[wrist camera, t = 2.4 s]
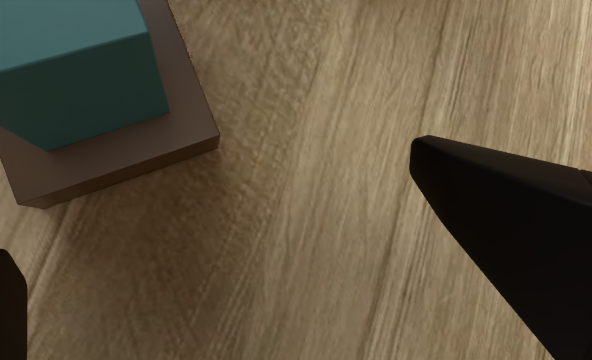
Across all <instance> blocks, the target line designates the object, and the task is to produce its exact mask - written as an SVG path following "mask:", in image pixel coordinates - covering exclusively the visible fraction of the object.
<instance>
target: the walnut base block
mask: <svg viewBox="0 0 592 360" xmlns="http://www.w3.org/2000/svg"><path fill="white" fill-rule="evenodd" d="M137 1H138V4H139V6H140V9H141V11H142V14H143V16H144V19H145V22H146V24H147V27H148V29H149V32H150V36H151V40H152V44H153V48H154V51H155V55H156V59H157V63H158V67H159V70H160V74H161V78H162V82H163V86H164V89H165V93H166V97H167V101H168V105H169V109H170V112H169V113H166V114H163V115H160V116H156V117H153V118H150V119H147V120H144V121H141V122H138V123H135V124H132V125H128V126H125V127H122V128H119V129H116V130H113V131H110V132H107V133H104V134H100V135H97V136H94V137H91V138H88V139H85V140H82V141H79V142H76V143H72V144H69V145H66V146H63V147H60V148H57V149H54V150H51V151H44V150H43V149H41V148H39V147H37V146H35V145H33V144H32V143H30V142H28V141H26V140H24V139H22V138H21V137H19V136H17V135H15V134H13V133H11V132H9V131H8V130H6V129H4V128H2V127H0V159H1V162H2V164H3V167H4V170H5V172H6V175H7V178H8V180H9V183H10V186H11V188H12V191H13V194H14V197H15V199H16V202H17V204H18V205H22V206H28V207H34V208H40V209H46V208H48V207H51V206H54V205H57V204H60V203H63V202H65V201H68V200H71V199H74V198H77V197H80V196H82V195H85V194H88V193H91V192H94V191H97V190H100V189H102V188H105V187H108V186H111V185H114V184H117V183H119V182H122V181H125V180H128V179H131V178H134V177H136V176H139V175H142V174H145V173H148V172H151V171H154V170H156V169H159V168H162V167H165V166H168V165H171V164H173V163H176V162H179V161H182V160H185V159H188V158H190V157H193V156H196V155H199V154H202V153H205V152H207V151H210V150H213V149H216V148H218V144H219V138H220V133H219V131H218V128H217V126H216V123H215V120H214V118H213V115H212V113H211V110H210V108H209V105H208V103H207V100H206V98H205V95H204V93H203V90H202V88H201V85H200V83H199V80H198V78H197V75H196V72H195V70H194V67H193V65H192V62H191V60H190V57H189V55H188V52H187V50H186V47H185V45H184V42H183V40H182V37H181V35H180V32H179V30H178V27H177V24H176V22H175V19H174V17H173V14H172V12H171V9H170V7H169V4H168V2H167V0H137Z"/></svg>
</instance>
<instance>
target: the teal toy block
mask: <svg viewBox="0 0 592 360" xmlns="http://www.w3.org/2000/svg"><path fill="white" fill-rule="evenodd" d="M169 112H170V109H169V105H168V101H167V97H166V93H165V89H164V86H163V82H162V78H161V74H160V70H159V67H158V63H157V59H156V55H155V51H154V48H153V44H152V40H151V36H150V32H149V29H148V27H147V24H146V22H145V19H144V16H143V14H142V11H141V9H140V6H139V4H138V1H137V0H0V127H2V128H4V129H6V130H8V131H9V132H11V133H13V134H15V135H17V136H19V137H21V138H22V139H24V140H26V141H28V142H30V143H32V144H33V145H35V146H37V147H39V148H41V149H43V150H44V151H51V150H54V149H57V148H60V147H63V146H66V145H69V144H72V143H76V142H79V141H82V140H85V139H88V138H91V137H94V136H97V135H100V134H104V133H107V132H110V131H113V130H116V129H119V128H122V127H125V126H128V125H132V124H135V123H138V122H141V121H144V120H147V119H150V118H153V117H156V116H160V115H163V114H166V113H169Z"/></svg>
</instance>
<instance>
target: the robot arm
mask: <svg viewBox="0 0 592 360" xmlns="http://www.w3.org/2000/svg"><path fill="white" fill-rule="evenodd" d="M409 170H410V174H411V177H412V178H413V180H414V181H415V183H416V184H417V186H418V188H419V189H420V191H421V192H422V194H423V195H424V197H425V198H426V200H427V201H428V203H429V204H430V206H431V207H432V209H433V210H434V212H435V213H436V215H437V216H438V218H439V219H440V221H441V222H442V223H443V225H444V226H445V227H446V228H447V230H448V231H449V232H450V233H451V235H452V236H453V237H454V238H455V239H456V241H457V242H458V243H459V244H460V246H461V247H462V248H463V249H464V250H465V252H466V253H467V254H468V255H469V256H470V258H471V259H472V260H473V261H474V262H475V264H476V265H477V266H478V267H479V268H480V270H481V271H482V272H483V273H484V275H485V276H486V277H487V278H488V279H489V281H490V282H491V283H492V284H493V285H494V287H495V288H496V289H497V290H498V291H499V293H500V294H501V295H502V296H503V297H504V299H505V300H506V301H507V302H508V304H509V305H510V306H511V307H512V308H513V310H514V311H515V312H516V313H517V314H518V316H519V317H520V318H521V319H522V320H523V322H524V323H525V324H526V325H527V327H528V328H529V329H530V330H531V331H532V333H533V334H534V335H535V336H536V337H537V339H538V340H539V341H540V342H541V343H542V345H543V346H544V347H545V348H546V349H547V351H548V352H549V353H550V354H551V356H552V357H553V358H554V359H555V360H592V172H591V171H586V170H578V169H577V168H573V167H568V166H564V165H560V164H555V163H551V162H546V161H542V160H538V159H533V158H529V157H524V156H520V155H515V154H511V153H507V152H502V151H498V150H493V149H489V148H485V147H480V146H476V145H471V144H467V143H463V142H458V141H454V140H449V139H445V138H440V137H436V136H432V135H426V136H422V137H419V138H415V139H414V140H413V141H412V143H411V152H410V164H409ZM0 360H27V283H26V280H25V278H24V276H23V274H22V273H21V271H20V270H19V268H18V266H17V265H16V263H15V262H14V260H13V258H12V257H11V255H10V254H9V253H8V252H7V251H6V250H4V249H0Z"/></svg>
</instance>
